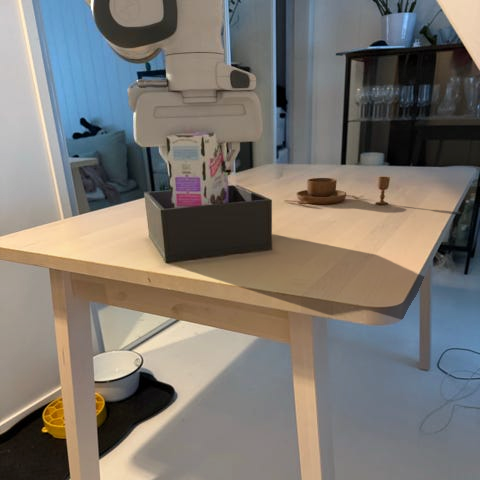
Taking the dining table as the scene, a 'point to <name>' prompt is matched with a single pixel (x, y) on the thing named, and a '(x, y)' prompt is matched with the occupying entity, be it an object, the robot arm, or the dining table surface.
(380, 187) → the place setting
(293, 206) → the dining table surface
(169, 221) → the dark storage bin
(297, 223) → the dining table surface
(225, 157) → the candy box
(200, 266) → the dining table surface
